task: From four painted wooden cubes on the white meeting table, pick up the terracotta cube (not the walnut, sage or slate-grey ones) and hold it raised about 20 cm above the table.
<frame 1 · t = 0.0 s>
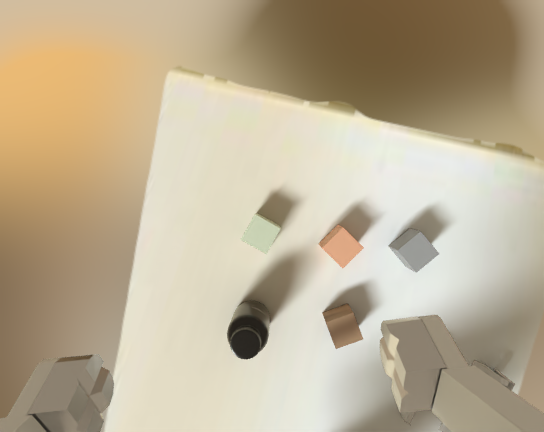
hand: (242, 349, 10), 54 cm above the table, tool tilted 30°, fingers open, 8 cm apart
walnut cube: (339, 320, 66), on the table
sage cube: (261, 231, 65), on the table
slate grey cube: (407, 247, 65), on the table
skate ramp: (447, 389, 67), on the table
terracotta cube: (337, 243, 65), on the table
supplement bottle: (251, 316, 66), on the table
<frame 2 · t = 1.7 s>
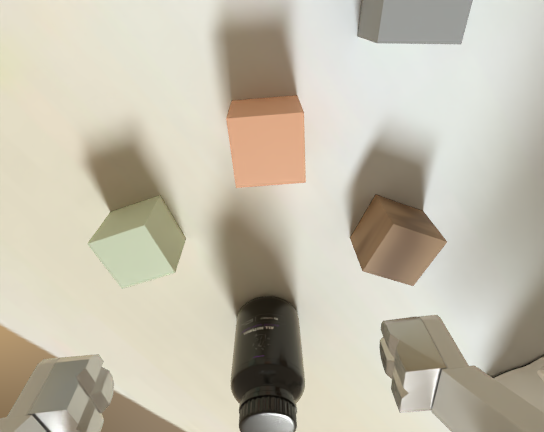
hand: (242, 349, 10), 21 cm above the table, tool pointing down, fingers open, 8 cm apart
walnut cube: (385, 224, 33), on the table
sage cube: (149, 225, 33), on the table
terracotta cube: (267, 129, 28), on the table
supplement bottle: (267, 315, 39), on the table
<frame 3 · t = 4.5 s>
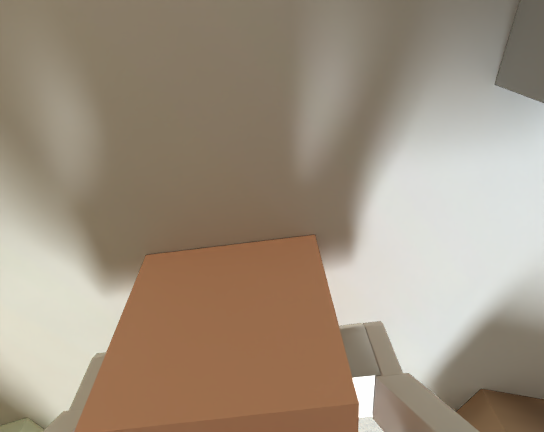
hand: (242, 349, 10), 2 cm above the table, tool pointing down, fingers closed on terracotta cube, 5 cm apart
walnut cube: (491, 424, 17), on the table
terracotta cube: (243, 304, 12), on the table, touching gripper
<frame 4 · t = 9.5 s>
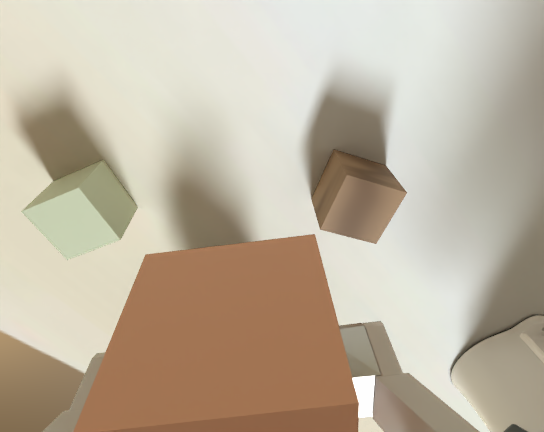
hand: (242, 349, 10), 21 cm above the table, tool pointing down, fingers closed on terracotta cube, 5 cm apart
walnut cube: (347, 182, 31), on the table
sage cube: (97, 194, 31), on the table
terracotta cube: (243, 304, 12), point 19 cm above the table, touching gripper
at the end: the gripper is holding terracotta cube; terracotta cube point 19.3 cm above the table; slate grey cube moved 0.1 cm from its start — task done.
